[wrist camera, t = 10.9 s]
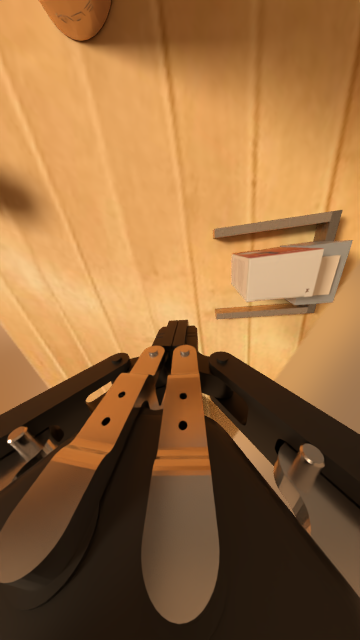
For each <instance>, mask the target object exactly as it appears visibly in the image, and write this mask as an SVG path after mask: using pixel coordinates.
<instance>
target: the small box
mask: <svg viewBox="0 0 360 640" xmlns="http://www.w3.org/2000/svg"><path fill="white" fill-rule="evenodd" d="M323 252H324V248H299V247H276V248H270V249H263V250H255V251H247V252H240V253H233V254H232V264H231V284H232V285H233V287H234V288H235V289H236V290H237V291H238V293H239V294H240V295H241V296H242V297H243V299H244V300H245V301H246V302H252V301H261V300H272V299H283V298H296V297H312V296H313V292H314V288H315V284H316V280H317V276H318V272H319V268H320V264H321V261H322V256H323Z"/></svg>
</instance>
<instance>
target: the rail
mask: <svg viewBox="0 0 360 640" xmlns="http://www.w3.org/2000/svg"><path fill="white" fill-rule="evenodd" d="M341 214H342V210H338V211H331V212H325V213H318V214H312V215H305V216H298V217H292V218H285V219H278V220H272V221H265V222H258V223H252V224H245V225H238V226H232V227H225V228H218V229H214V230H213V239H214V238H221V237H228V236H235V235H242V234H249V233H256V232H263V231H270V230H277V229H284V228H291V227H298V226H305V225H313V224H317V228H316V233H315V237H314V242H318V241H334V239H335V235H336V232H337V228H338V225H339V221H340V217H341ZM315 307H316V304H304V305H294V304H292V303H286V304H273V305H260V306H246V307H233V308H220V309H215V316H216V319H228V318H243V317H259V316H274V315H289V314H304V313H314V311H315Z"/></svg>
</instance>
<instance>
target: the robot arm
mask: <svg viewBox="0 0 360 640" xmlns="http://www.w3.org/2000/svg"><path fill="white" fill-rule="evenodd" d="M39 2H40V3H41V5H42V6H43V8H44V9H45V11H46V12H47V14H48V16H49V17H50V18H51V20H52V21H53V22H54V24H55V25H56V27H57V28H58V29H59V30H61V31H62V32H63V33H64V34H65V35H67V36H68V37H70V38H72V39H75V40H80V41H82V40H88V39H90V38H91V37H93V36H95V35H96V34H97V32H98V31H99V30H100V29H101V28H102V26H103V24H104V22H105V20H106V18H107V15H108V12H109V9H110V6H111V0H39ZM110 381H111V382H112V386H111V387H110V389H109V390H108V391H107V392H106V393H104V394H103V395H101V396H100V397H98V398H97V399H95V400H94V401H92V402H86V398H87V397H88V396H89V395H90V394H91V393H93V392H94V391H96V390H98V389H99V388H101V387H102V386H104V385H105V384H107V383H109V382H110ZM202 393H204V394H207V395H210V398H211V400H212V401H213V402H214V403H215V404H216V405H217V406H218V408H219V409H220V410H221V411H222V412H223V413H224V414H225V415H226V416H227V417H228V418H229V419H230V420H231V421H232V422H233V423H234V424H235V426H236V427H237V428H238V429H239V430H240V431H241V432H242V433H243V434H244V435H245V436H246V437H247V438H248V439H249V440H250V441H251V442H252V443H253V445H255V446H256V448H257V449H258V450H259V451H260V452H261V453H262V454H263V455H264V456H265V457H266V458H267V459H268V460H269V461H270V462H271V464H272V465H273V466H274V470H273V471H274V478H275V481H276V484H277V486H278V488H279V490H280V492H281V493H282V495H283V496H284V498H285V499H286V500H287V502H288V503H289V505H290V506H291V508H292V510H293V512H294V514H295V516H296V517H295V516H294V515H293V513H292V512H291V511H290V510H289V509H288V507H287V506H286V505H285V504H284V502H283V501H282V500H281V499H280V498H279V496H278V495H277V494H276V493H275V491H274V490H273V489H272V488H271V486H270V485H269V484H268V483H267V481H266V480H265V479H264V478H263V477H262V475H261V474H260V473H259V471H258V470H257V469H256V468H255V467H254V465H253V464H252V463H251V462H250V460H249V459H248V458H247V457H246V456H245V454H244V453H243V452H242V450H241V449H240V448H239V447H238V445H237V444H236V443H235V442H234V440H233V439H232V438H231V437H230V436H229V434H228V433H227V432H226V431H225V430H224V429H223V428H222V427H221V426H220V425H219V424H218V423H217V422H215V421H214V420H212V419H211V418H209V417H207V416H205V415H204V411H203V402H202ZM0 640H360V434H358V433H356V432H355V431H353V430H352V429H350V428H348V427H347V426H345V425H344V424H342V423H340V422H339V421H337V420H336V419H334V418H332V417H331V416H329V415H328V414H326V413H324V412H323V411H321V410H319V409H318V408H316V407H315V406H313V405H311V404H310V403H308V402H306V401H305V400H303V399H302V398H300V397H299V396H297V395H295V394H294V393H292V392H291V391H289V390H287V389H286V388H284V387H282V386H281V385H279V384H278V383H276V382H274V381H273V380H271V379H270V378H268V377H266V376H265V375H263V374H262V373H260V372H258V371H257V370H255V369H254V368H252V367H250V366H249V365H247V364H246V363H244V362H242V361H241V360H239V359H237V358H236V357H234V356H233V355H231V354H229V353H226V352H215V353H213V354H211V355H210V357H208V356H204V355H202V354H200V353H199V352H198V336H197V328H196V327H195V326H189V325H188V320H179V321H178V320H176V321H169V323H168V325H167V327H162V328H161V329H160V330H159V332H158V334H157V336H156V338H155V340H154V342H153V345H152V346H151V347H148V348H146V349H145V350H144V351H143V352H142V354H141V356H140V357H136V358H132V359H129V356H128V354H126V353H118V354H115V355H113V356H111V357H109V358H107V359H105V360H103V361H101V362H99V363H97V364H96V365H94V366H92V367H90V368H88V369H86V370H84V371H82V372H80V373H79V374H77V375H75V376H73V377H71V378H69V379H67V380H65V381H64V382H62V383H60V384H58V385H56V386H54V387H52V388H50V389H48V390H47V391H45V392H43V393H41V394H39V395H37V396H35V397H33V398H32V399H30V400H28V401H26V402H24V403H22V404H20V405H18V406H16V407H15V408H13V409H11V410H9V411H7V412H5V413H3V414H1V415H0Z"/></svg>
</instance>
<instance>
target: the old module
mask: <svg viewBox="0 0 360 640" xmlns="http://www.w3.org/2000/svg"><path fill="white" fill-rule="evenodd" d="M352 241H353V240H348V241H318V242H307V243H299V244H291V245H283V246H280V247H299V248H324V252H323V256H322V261H321V264H320V268H319V272H318V276H317V280H316V284H315V288H314V292H313V296H312V297H296V298H284V299H285V300H287V301H289V302H290V303H292V304H294V305H304V304H317V303H331V302H333V300H334V297H335V294H336V291H337V287H338V284H339V281H340V278H341V275H342V272H343V269H344V266H345V263H346V260H347V257H348V254H349V251H350V247H351V244H352Z"/></svg>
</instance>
